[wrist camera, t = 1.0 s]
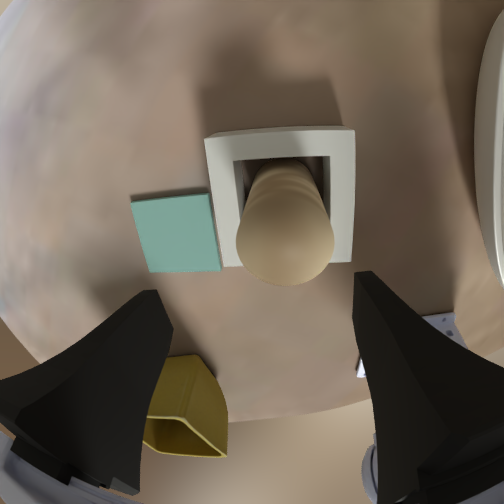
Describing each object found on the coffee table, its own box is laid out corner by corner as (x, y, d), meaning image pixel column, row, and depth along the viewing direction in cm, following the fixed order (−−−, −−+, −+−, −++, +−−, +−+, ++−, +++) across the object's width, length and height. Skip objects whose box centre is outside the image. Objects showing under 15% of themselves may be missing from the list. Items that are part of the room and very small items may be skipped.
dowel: (313, 156, 17) (335, 196, 10) (314, 214, 19) (332, 284, 12) (250, 159, 18) (229, 200, 11) (256, 217, 20) (241, 287, 13)
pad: (209, 192, 19) (207, 194, 19) (221, 268, 22) (220, 270, 22) (132, 201, 20) (130, 203, 20) (151, 269, 23) (149, 272, 22)
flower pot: (135, 346, 28) (104, 413, 21) (204, 336, 26) (180, 418, 18) (175, 392, 32) (157, 453, 24) (239, 387, 30) (229, 458, 22)
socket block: (343, 125, 16) (354, 130, 13) (342, 239, 20) (350, 261, 17) (215, 132, 17) (203, 138, 14) (231, 244, 21) (224, 266, 18)
